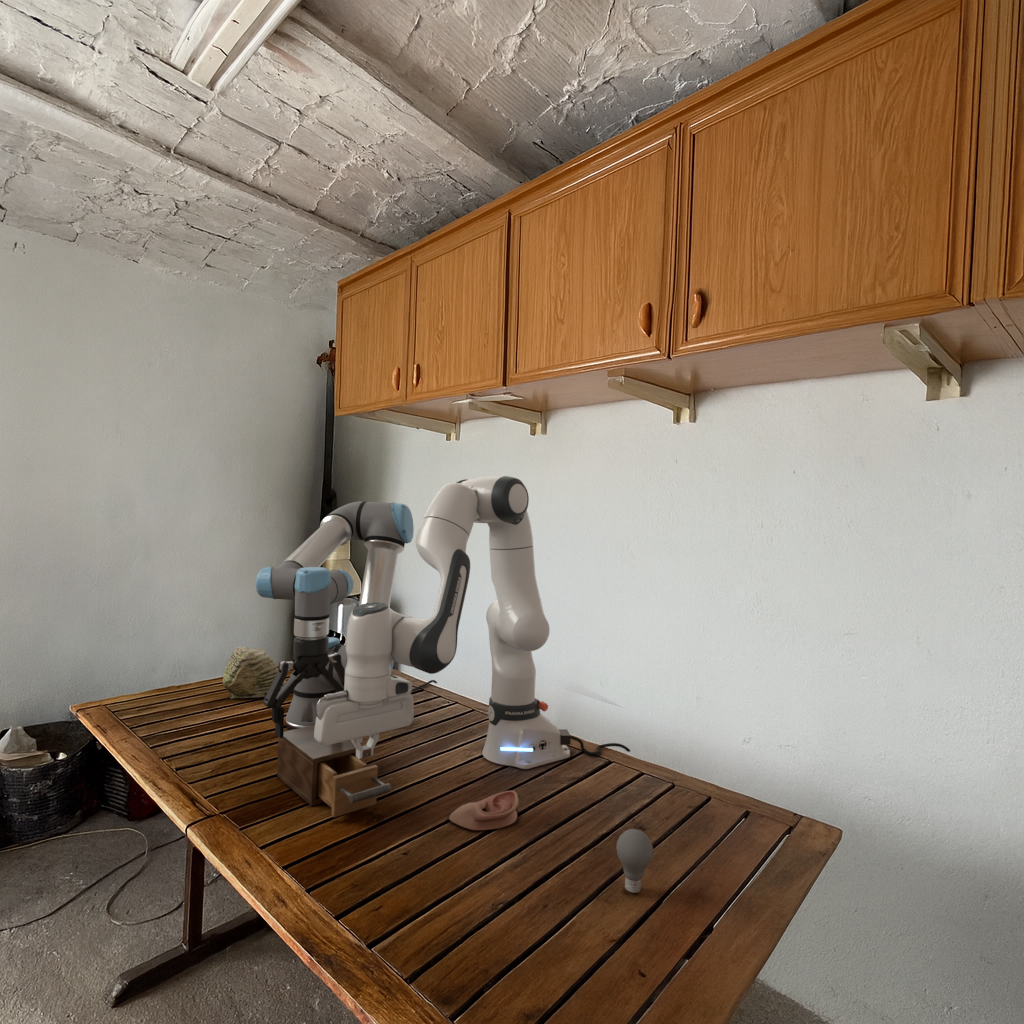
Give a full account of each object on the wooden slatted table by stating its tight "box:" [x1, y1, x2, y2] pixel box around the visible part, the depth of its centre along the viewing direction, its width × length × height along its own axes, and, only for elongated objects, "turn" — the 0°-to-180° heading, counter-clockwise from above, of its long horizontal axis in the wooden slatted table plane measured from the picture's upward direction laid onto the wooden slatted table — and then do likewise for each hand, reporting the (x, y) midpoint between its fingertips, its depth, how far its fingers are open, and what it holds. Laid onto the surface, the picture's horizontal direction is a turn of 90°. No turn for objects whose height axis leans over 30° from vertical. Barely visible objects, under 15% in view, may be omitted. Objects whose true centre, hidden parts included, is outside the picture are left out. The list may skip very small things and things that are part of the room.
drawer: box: [316, 754, 392, 818], centre depth 130 cm, size 23×9×8 cm, turn 42°
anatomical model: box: [448, 790, 519, 831], centre depth 128 cm, size 13×4×12 cm
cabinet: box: [276, 725, 356, 807], centre depth 140 cm, size 18×11×10 cm, turn 42°
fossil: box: [222, 646, 287, 699], centre depth 198 cm, size 9×18×15 cm, turn 132°
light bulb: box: [615, 828, 654, 894], centre depth 106 cm, size 6×6×10 cm
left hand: (308, 729), depth 144 cm, fingers open, 13 cm apart
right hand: (364, 756), depth 124 cm, fingers closed
